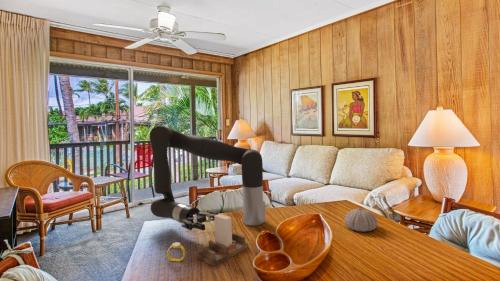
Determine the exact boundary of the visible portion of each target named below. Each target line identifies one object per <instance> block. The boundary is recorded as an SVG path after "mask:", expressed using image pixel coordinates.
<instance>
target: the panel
mask: <svg viewBox="0 0 500 281" xmlns="http://www.w3.org/2000/svg"><path fill="white" fill-rule="evenodd" d="M214 219H215V221H214V242H216V243H218V244H221V245H223V246H226V253H228V250H227V247H228V246H229V245H231V244H232V232H233V229H232V228H233V227H232V217H231V216H229V215H225V214H221V213H218V215H215V216H214Z"/></svg>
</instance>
